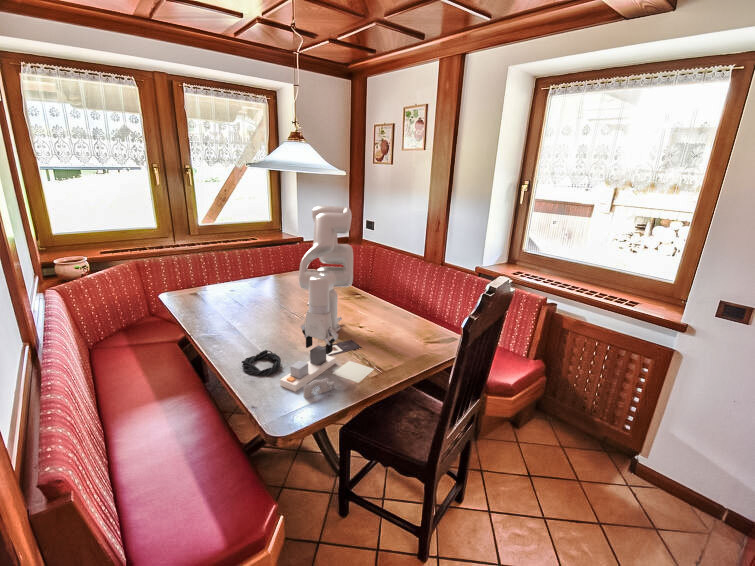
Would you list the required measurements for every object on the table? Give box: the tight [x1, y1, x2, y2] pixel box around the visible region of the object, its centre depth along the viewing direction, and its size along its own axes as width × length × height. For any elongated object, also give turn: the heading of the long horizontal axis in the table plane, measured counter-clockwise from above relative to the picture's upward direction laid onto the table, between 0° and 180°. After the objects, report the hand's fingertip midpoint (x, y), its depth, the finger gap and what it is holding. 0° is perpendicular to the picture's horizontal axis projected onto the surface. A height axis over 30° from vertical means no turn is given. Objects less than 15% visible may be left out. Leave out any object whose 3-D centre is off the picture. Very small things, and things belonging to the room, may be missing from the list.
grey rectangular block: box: [309, 345, 326, 366], centre depth 146 cm, size 5×4×8 cm
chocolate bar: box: [323, 339, 363, 357], centre depth 164 cm, size 9×1×18 cm
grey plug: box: [290, 360, 308, 380], centre depth 137 cm, size 5×4×6 cm
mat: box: [331, 360, 375, 384], centre depth 146 cm, size 12×12×1 cm
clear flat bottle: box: [301, 377, 336, 399], centre depth 130 cm, size 12×2×6 cm, turn 126°
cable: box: [241, 349, 282, 377], centre depth 146 cm, size 17×14×4 cm
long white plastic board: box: [279, 355, 336, 392], centre depth 142 cm, size 24×7×4 cm, turn 151°
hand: (319, 349), depth 145 cm, fingers open, 9 cm apart
